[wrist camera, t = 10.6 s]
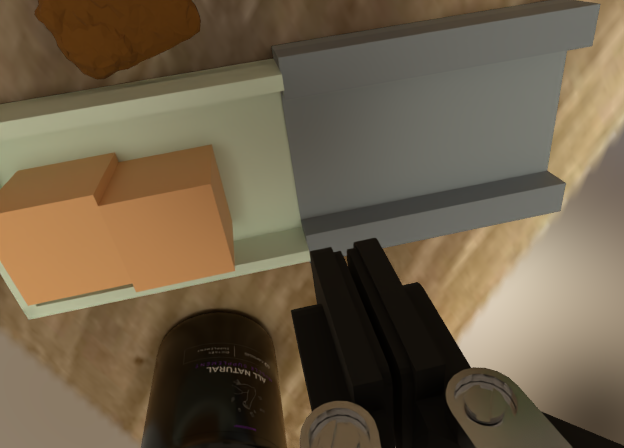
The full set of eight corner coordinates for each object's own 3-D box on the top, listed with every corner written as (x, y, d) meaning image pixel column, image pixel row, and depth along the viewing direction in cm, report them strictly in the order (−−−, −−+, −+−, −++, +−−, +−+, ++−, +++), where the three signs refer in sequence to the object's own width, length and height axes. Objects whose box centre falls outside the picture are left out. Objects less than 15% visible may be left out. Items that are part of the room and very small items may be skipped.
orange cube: (118, 162, 19) (98, 206, 16) (211, 144, 20) (210, 183, 16) (148, 238, 22) (136, 292, 18) (232, 221, 22) (235, 270, 19)
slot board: (271, 46, 19) (278, 57, 17) (560, -2, 20) (600, 3, 18) (301, 236, 24) (310, 263, 22) (531, 189, 25) (560, 210, 23)
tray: (-43, 111, 18) (-85, 136, 16) (287, 56, 19) (297, 71, 17) (49, 278, 23) (28, 319, 20) (312, 225, 24) (323, 258, 21)
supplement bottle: (259, 294, 26) (287, 518, 15) (283, 374, 29) (318, 598, 19) (137, 324, 25) (84, 576, 15) (177, 401, 29) (156, 646, 19)
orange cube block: (17, 170, 19) (-27, 218, 16) (114, 152, 19) (92, 194, 16) (58, 248, 21) (28, 305, 18) (145, 231, 21) (132, 283, 18)
